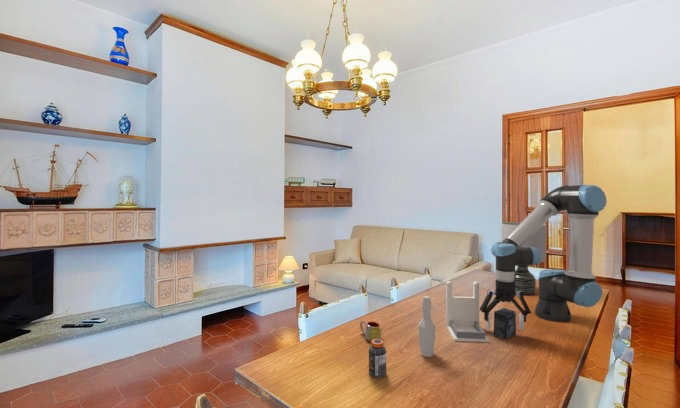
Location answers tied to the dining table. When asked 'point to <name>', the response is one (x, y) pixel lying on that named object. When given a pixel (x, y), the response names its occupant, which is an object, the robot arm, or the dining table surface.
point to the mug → (371, 330)
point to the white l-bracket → (464, 316)
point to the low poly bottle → (426, 330)
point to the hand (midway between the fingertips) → (504, 328)
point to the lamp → (522, 275)
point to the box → (504, 323)
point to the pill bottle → (377, 359)
